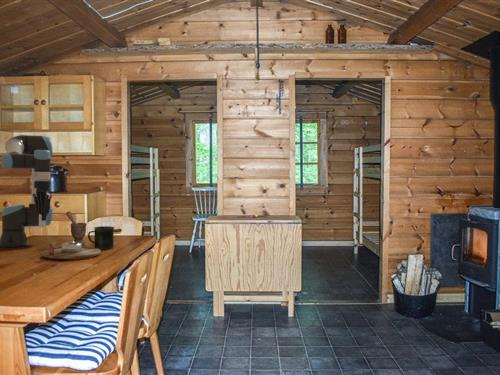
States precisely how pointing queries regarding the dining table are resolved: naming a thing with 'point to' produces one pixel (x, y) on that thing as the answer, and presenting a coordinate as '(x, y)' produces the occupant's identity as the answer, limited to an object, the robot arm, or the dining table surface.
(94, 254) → the turntable
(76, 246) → the cover
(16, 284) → the dining table surface
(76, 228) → the mortar and pestle
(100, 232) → the mug
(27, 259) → the dining table surface
